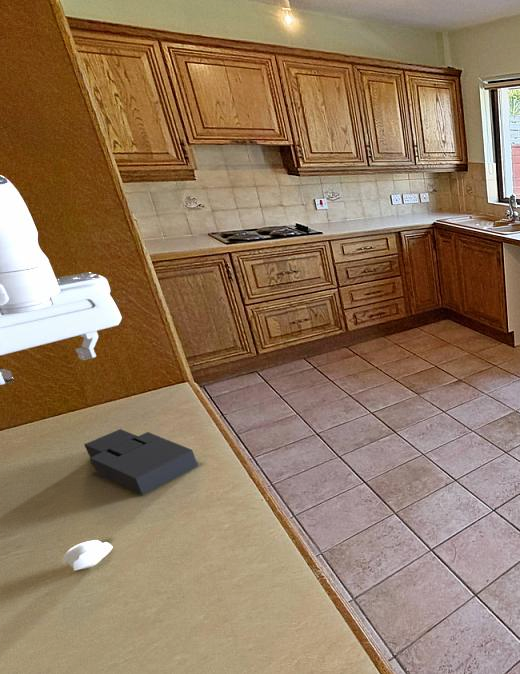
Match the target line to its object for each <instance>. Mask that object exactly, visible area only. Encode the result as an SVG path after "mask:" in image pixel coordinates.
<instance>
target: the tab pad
mask: <svg viewBox="0 0 520 674" xmlns="http://www.w3.org/2000/svg"><path fill="white" fill-rule="evenodd" d="M138 436H139V435H137V434H134V433H131V432H129V431H126V430H124V429H121V428H119V429H117V430H114V431H113V432H110V433H108V434H105V435H103V436H100V437H98V438H95V439H94V440H91V441H89V442H86V443H84V445H83V446H84V447H85V450H86V452H87V454H88V455H89V458H90V457H93V456H95V455H97V454H99V453H102V452H104V451H106V452H108V453H110V454H113V455H115V456H117V457H118V456H121V455H123V454H125V453H127V452H129V451H131V450H134V449H136V448H138V447H140V446H142V445H143V444H141V443H139V442H136V441H135V437H138Z"/></svg>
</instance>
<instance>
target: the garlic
mask: <svg viewBox="0 0 520 674" xmlns="http://www.w3.org/2000/svg"><path fill="white" fill-rule="evenodd" d="M112 549H113V545H112V544H110V543H109V542H107V541H105V542H102V541H100V540H98V539H92V540H87V541H84V542H81V543H78V544H76V545H74V546H73V547H71V548H70V549H68V550H67V552H65V554H64V555H63V557H62V560H61V563H60V565H64V564H66V563H68V565H69V566H70V567H71V568H73V572H76V571H79V570H87V569H90V568H92V567H95V566H96V565H97V564H99V563H100V562H101V560H102V559H103V558H105V557H106V556H107V555H108V554H109V553H110V552H111V551H112Z"/></svg>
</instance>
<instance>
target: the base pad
mask: <svg viewBox="0 0 520 674" xmlns="http://www.w3.org/2000/svg"><path fill="white" fill-rule="evenodd" d="M137 436H138V437H135V441H136V442H139V443H141V444H143V445H142V446H140V447H138V448H136V449H134V450H131V451H129V452H127V453H125V454H123V455H121V456H118V457H117V456H115V455H113V454H110V453H108V452H106V451H104V452H102V453H99V454H97V455H95V456H93V457H90V456H89V460H90V462H91V464H92V467H93V468H94V470H95V473H96V475H98V476H100V477H102V478H104V479H106V480H108V481H111V482H113V483H115V484H117V485H119V486H121V487H123V488H125V489H127V490H130V491H132V492H134V493H137V495H140V496H144V495H146V494H148V493H150V492H152V491H154V490H155V489H158V488H159V487H162V486H163V485H165V484H167V483H168V482H171V481H172V480H174V479H176V478H177V477H180V476H181V475H184V474H185V473H187V472H189V471H191V470H193V469H194V468H196V467H198V466H199V464H198V462H197V459H196V457H195V453H194V450H193V449H192V448H188V447H187V446H184V445H181V444H179V443H177V442H174V441H171V440H169V439H166V438H164V437H162V436H159V435H156V434H155V433H151V432H149V431H146V432H145V433H142V434H140V435H137Z"/></svg>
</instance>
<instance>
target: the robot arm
mask: <svg viewBox="0 0 520 674" xmlns="http://www.w3.org/2000/svg"><path fill="white" fill-rule="evenodd" d="M38 238H39V232H38V230H37V227H36V225H35V222H34V220H33V217H32V215H31V212H30V211H29V207H28V206H27V204H26V202H25V201H24V198H23V197H22V196H21V194H20V192H19V190H18V189H17V188H16V186H14V184H13V183H12V182H11V181H10V180H9V179H8V178H6V177H5V176H3V175H1V174H0V356H4V355H7V354H12V353H15V352H20V351H23V350H27V349H31V348H35V347H39V346H43V345H46V344H51V343H54V342H59V341H63V340H66V339H70V338H74V337H78V336H79V337H81V338H83V341H82V344H81V347H78V348H75V349H74V350H75V352H76V354H77V357H78V358H79V359H80V360H82V361H88V360H91V359H95V358H96V357H97V354H96V352H95V347H96V344H97V342H98V339H99V334H98V331H101V330H105V329H109V328H113V327H117V326H119V325H120V324H121V321H122V319H123V318H122V317H123V316H122V315H121V312H120V310H119V308H118V306H117V304H116V302H115V301H114V299H113V297H112V296H111V294H110V293H111V287H110V285H109V281H108V279H107V278H106V277H105V276H103V275H101V274H97V273H93V272H82V273H79V274H73V275H72V274H71V275H64V276H57V277H56V275H55V272H54V270H53V267H52V265H51V262H50V260H49V258H48V257H47V255H46V254H45V253H44V252H43V250H42V249H41V247H40V245H39V240H38ZM12 382H13V383H14V382H15V378H14V377H13V373H12V371H11V370H8V369H5V368H1V369H0V386H3V385H6V384H9V383H12Z"/></svg>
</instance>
